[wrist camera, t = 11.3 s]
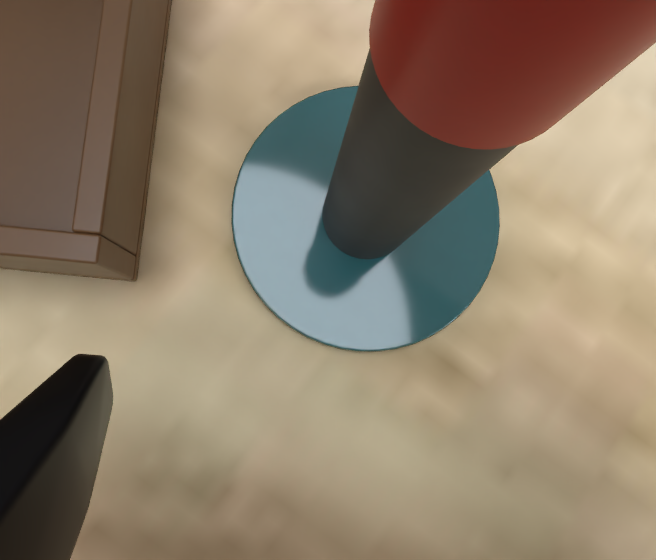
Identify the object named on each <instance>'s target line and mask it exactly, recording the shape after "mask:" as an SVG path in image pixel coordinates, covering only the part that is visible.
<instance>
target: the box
mask: <svg viewBox="0 0 656 560" xmlns="http://www.w3.org/2000/svg"><path fill="white" fill-rule="evenodd" d="M171 1H172V0H0V268H1V269H11V270H22V271H32V272H43V273H53V274H63V275H74V276H84V277H95V278H105V279H116V280H126V281H136V280H137V273H138V265H139V257H140V249H141V241H142V233H143V225H144V217H145V209H146V201H147V193H148V185H149V177H150V169H151V161H152V153H153V145H154V137H155V129H156V121H157V113H158V105H159V97H160V89H161V81H162V73H163V65H164V57H165V49H166V41H167V33H168V25H169V17H170V9H171Z"/></svg>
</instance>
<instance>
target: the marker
mask: <svg viewBox="0 0 656 560" xmlns="http://www.w3.org/2000/svg"><path fill="white" fill-rule="evenodd" d="M369 41H370V49H369V53H368V56H367V59H366V63H365V66H364V70H363V73H362V76H361V80H360V83H359V87H358V90H357V93H356V97H355V100H354V103H353V107H352V110H351V114H350V117H349V120H348V124H347V127H346V131H345V134H344V137H343V141H342V144H341V148H340V151H339V154H338V158H337V161H336V165H335V168H334V171H333V175H332V178H331V181H330V185H329V188H328V192H327V195H326V198H325V202H324V206H323V224H324V228H325V231H326V233H327V235H328V237H329V239H330V240H331V241H332V243H333V244H334V245H335V246H336V247H337V248H338V249H340V250H341V251H342V252H344V253H346V254H347V255H350V256H352V257H355V258H359V259H376V258H379V257H382V256H385V255H387V254H389V253H391V252H392V251H393V250H395V249H396V248H397V247H398V246H400V245H401V244H402V243H403V242H404V241H405V240H407V239H408V238H409V237H410V236H411V235H412V234H414V233H415V232H416V231H417V230H418V229H420V228H421V227H422V226H423V225H424V224H425V223H427V222H428V221H429V220H430V219H431V218H433V217H434V216H435V215H436V214H437V213H438V212H440V211H441V210H442V209H443V208H444V207H445V206H447V205H448V204H449V203H450V202H451V201H453V200H454V199H455V198H456V197H457V196H458V195H460V194H461V193H462V192H463V191H464V190H465V189H467V188H468V187H469V186H470V185H471V184H473V183H474V182H475V181H476V180H477V179H478V178H480V177H481V176H482V175H483V174H484V173H486V172H487V171H488V170H489V169H490V168H491V167H493V166H494V165H495V164H496V163H497V162H498V161H500V160H501V159H502V158H503V157H504V156H506V155H507V154H508V153H509V152H510V151H511V150H513V149H514V148H515V147H516V146H517V145H519V144H521V143H524V142H526V141H529V140H531V139H533V138H535V137H537V136H539V135H540V134H542V133H544V132H545V131H547V130H548V129H549V128H550V127H552V126H553V125H554V124H556V123H557V122H558V121H559V120H561V119H562V118H563V117H564V116H566V115H567V114H568V113H569V112H570V111H572V110H573V109H574V108H575V107H577V106H578V105H579V104H580V103H582V102H583V101H584V100H585V99H587V98H588V97H589V96H590V95H591V94H593V93H594V92H595V91H596V90H598V89H599V88H600V87H601V86H603V85H604V84H605V83H606V82H608V81H609V80H610V79H611V78H612V77H614V76H615V75H616V74H617V73H619V72H620V71H621V70H622V69H624V68H625V67H626V66H627V65H628V64H630V63H631V62H632V61H633V60H635V59H636V58H637V57H638V56H640V55H641V54H642V53H643V52H645V51H646V50H647V49H648V48H649V47H651V46H652V45H653V44H654V43H656V0H375V4H374V7H373V11H372V15H371V21H370V29H369Z"/></svg>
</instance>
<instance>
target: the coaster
mask: <svg viewBox="0 0 656 560" xmlns="http://www.w3.org/2000/svg"><path fill="white" fill-rule="evenodd" d="M358 87H359V86H352V87H342V88H337V89H333V90H328V91H324V92H321V93H319V94H316V95H313V96H311V97H308V98H306V99H304V100H302V101H300V102H298V103H297V104H295V105H293V106H291V107H290V108H289V109H287V110H286V111H284V112H283V113H282V114H280V115H279V116H278V117H277V118H276V119H275V120H273V121H272V122H271V123H270V124H269V125H268V126H267V127H266V128H265V129H264V131H263V132H262V133H261V134H260V135H259V137H258V138H257V139H256V140H255V142H254V144H253V145H252V147H251V148H250V150H249V152H248V153H247V155H246V157H245V159H244V162H243V164H242V166H241V168H240V171H239V174H238V177H237V181H236V184H235V187H234V194H233V201H232V231H233V239H234V244H235V247H236V251H237V255H238V259H239V261H240V264H241V266H242V268H243V271H244V273H245V275H246V277H247V279H248V281H249V283H250V284H251V286H252V288H253V290H254V291H255V293H256V294H257V295H258V296H259V298H260V299H261V300H262V302H263V303H264V304H265V306H266V307H267V308H268V309H269V310H270V311H271V312H272V313H273V314H274V315H275V316H276V317H277V318H279V319H280V320H281V321H282V322H284V323H285V324H286V325H288V326H289V327H290V328H292V329H293V330H295V331H297V332H298V333H300V334H302V335H303V336H305V337H307V338H309V339H312V340H314V341H316V342H319V343H321V344H324V345H327V346H331V347H335V348H339V349H344V350H352V351H385V350H392V349H397V348H401V347H405V346H408V345H412V344H414V343H417V342H419V341H421V340H424V339H426V338H429V337H430V336H432V335H434V334H435V333H437V332H439V331H440V330H442V329H444V328H445V327H446V326H448V325H449V324H450V323H451V322H453V321H454V320H455V319H456V318H458V317H459V315H460V314H461V313H462V312H463V311H464V310H465V309H466V308H467V307H468V306H469V305H470V304H471V302H472V301H473V300H474V298H475V297H476V295H477V294H478V293H479V291H480V290H481V288H482V286H483V284H484V282H485V280H486V279H487V277H488V274H489V272H490V269H491V266H492V264H493V261H494V258H495V253H496V249H497V245H498V237H499V227H500V223H499V206H498V199H497V193H496V189H495V186H494V183H493V179H492V176H491V173H490V171H489V170H488V171H487V172H486V173H484V174H483V175H482V176H481V177H480V178H478V179H477V180H476V181H475V182H474V183H473V184H471V185H470V186H469V187H468V188H467V189H465V190H464V191H463V192H462V193H461V194H460V195H458V196H457V197H456V198H455V199H454V200H453V201H451V202H450V203H449V204H448V205H447V206H445V207H444V208H443V209H442V210H441V211H440V212H438V213H437V214H436V215H435V216H434V217H433V218H431V219H430V220H429V221H428V222H427V223H425V224H424V225H423V226H422V227H421V228H420V229H418V230H417V231H416V232H415V233H414V234H412V235H411V236H410V237H409V238H408V239H407V240H405V241H404V242H403V243H402V244H401V245H400V246H398V247H397V248H396V249H395V250H393V251H392V252H391V253H389V254H387V255H385V256H382V257H379V258H376V259H359V258H355V257H352V256H350V255H347V254H346V253H344V252H342V251H341V250H340V249H338V248H337V247H336V246H335V245H334V244H333V243H332V241H331V240H330V239H329V237H328V235H327V233H326V231H325V228H324V224H323V206H324V202H325V198H326V195H327V192H328V188H329V185H330V181H331V178H332V175H333V171H334V168H335V165H336V161H337V158H338V154H339V151H340V148H341V144H342V141H343V137H344V134H345V131H346V127H347V124H348V120H349V117H350V114H351V110H352V107H353V103H354V100H355V97H356V93H357V90H358Z"/></svg>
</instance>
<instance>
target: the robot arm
mask: <svg viewBox="0 0 656 560" xmlns="http://www.w3.org/2000/svg"><path fill="white" fill-rule="evenodd" d="M112 405H113V390H112V383H111V377H110V371H109V364H108V361H107V359H106V358H105V357H104V356H101V355H88V354H78V355H76V356H74V357H72V358H71V359H70V360H69V361H68V362H66V363H65V364H64V365H63V366H62V367H61V368H60V369H58V370H57V371H56V372H55V373H54V374H53V375H51V376H50V377H49V378H48V379H47V380H46V381H44V382H43V383H42V384H41V385H40V386H39V387H38V388H36V389H35V390H34V391H33V392H32V393H31V394H29V395H28V396H27V397H26V398H25V399H24V400H23V401H21V402H20V403H19V404H18V405H17V406H16V407H14V408H13V409H12V410H11V411H10V412H9V413H8V414H6V415H5V416H4V417H3V418H2V419H1V420H0V560H70V558H71V555H72V552H73V549H74V547H75V544H76V541H77V538H78V536H79V533H80V530H81V527H82V525H83V522H84V519H85V516H86V513H87V510H88V507H89V503H90V499H91V495H92V491H93V487H94V483H95V478H96V474H97V470H98V466H99V461H100V457H101V453H102V449H103V444H104V440H105V436H106V432H107V427H108V423H109V419H110V415H111V410H112Z"/></svg>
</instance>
